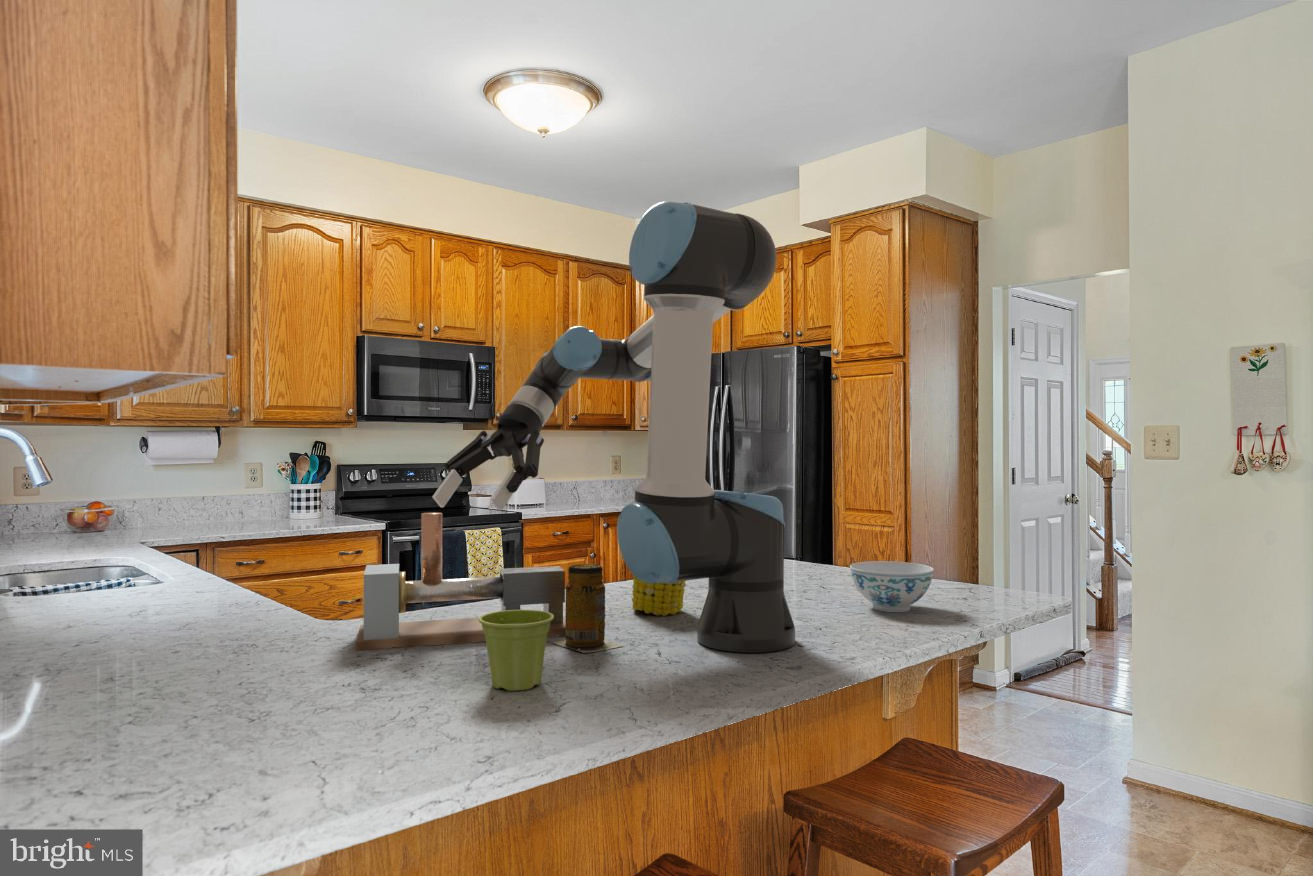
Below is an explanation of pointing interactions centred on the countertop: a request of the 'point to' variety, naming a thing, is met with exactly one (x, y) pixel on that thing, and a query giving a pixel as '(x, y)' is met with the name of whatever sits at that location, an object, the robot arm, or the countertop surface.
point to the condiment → (585, 610)
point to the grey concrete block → (534, 589)
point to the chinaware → (891, 583)
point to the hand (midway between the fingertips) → (466, 503)
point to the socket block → (381, 601)
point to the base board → (437, 633)
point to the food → (658, 597)
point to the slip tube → (431, 573)
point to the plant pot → (516, 646)
